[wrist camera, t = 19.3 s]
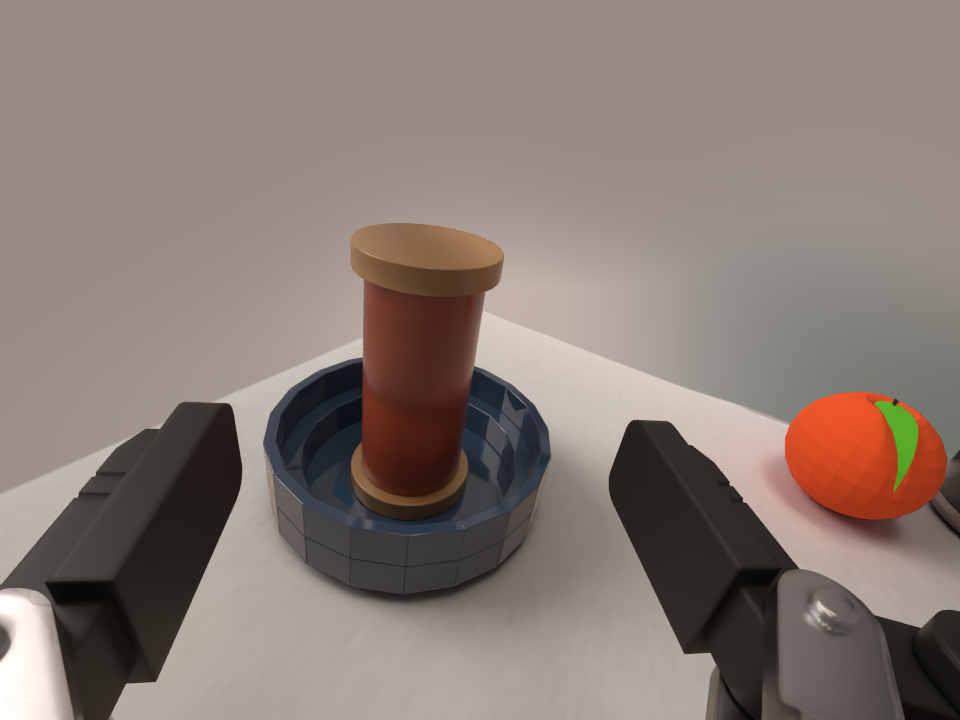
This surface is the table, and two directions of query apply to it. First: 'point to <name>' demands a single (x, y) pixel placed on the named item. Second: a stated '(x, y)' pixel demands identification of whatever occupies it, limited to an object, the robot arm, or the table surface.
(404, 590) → the bowl
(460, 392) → the spool
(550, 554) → the table surface
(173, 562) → the robot arm
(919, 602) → the table surface
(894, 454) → the clementine
